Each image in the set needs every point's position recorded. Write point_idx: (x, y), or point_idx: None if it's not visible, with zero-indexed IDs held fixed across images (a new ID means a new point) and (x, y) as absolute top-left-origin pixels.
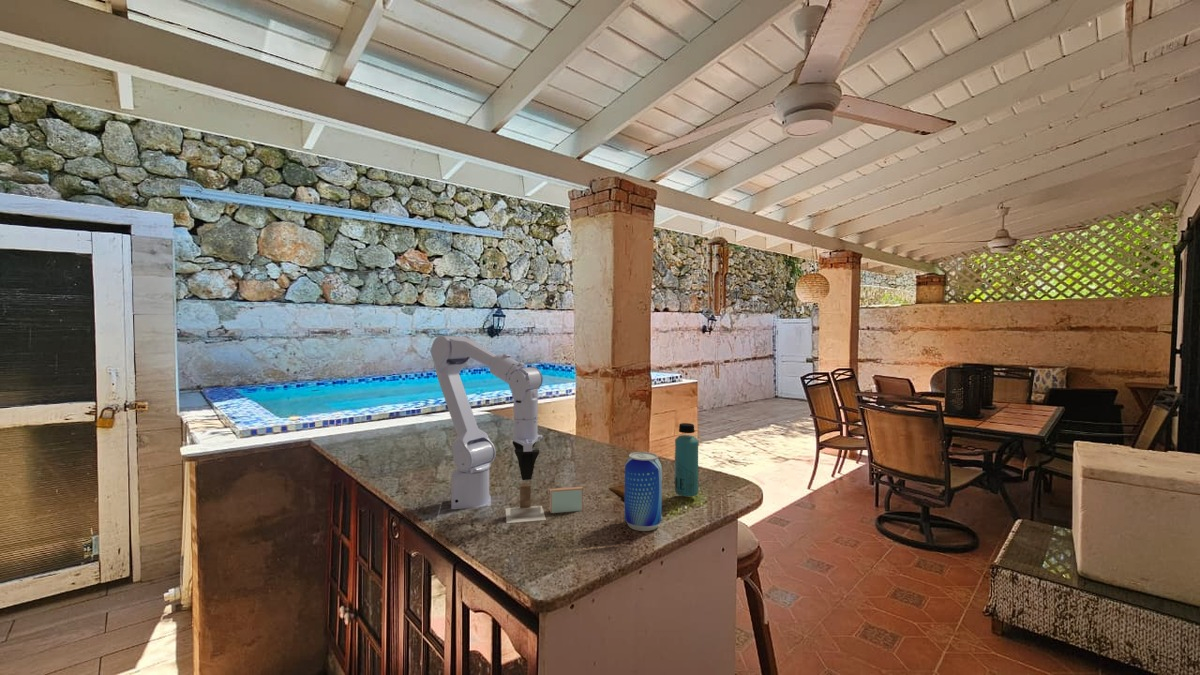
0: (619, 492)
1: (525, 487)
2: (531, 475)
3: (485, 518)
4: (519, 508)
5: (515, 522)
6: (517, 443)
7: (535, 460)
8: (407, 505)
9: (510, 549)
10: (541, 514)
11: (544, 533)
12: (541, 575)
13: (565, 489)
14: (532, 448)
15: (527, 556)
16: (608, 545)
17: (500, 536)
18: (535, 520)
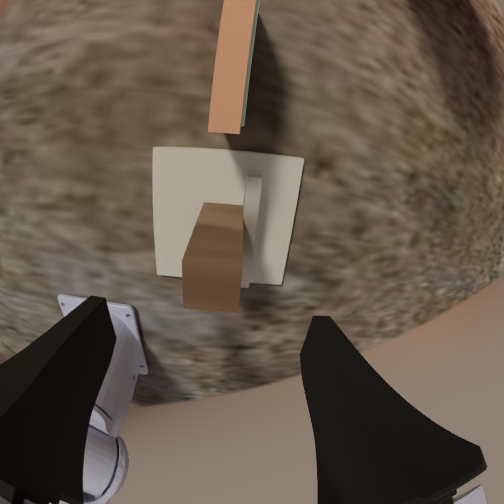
0: None
1: (240, 288)
2: (341, 334)
3: (209, 322)
4: (244, 259)
5: (285, 260)
6: (68, 498)
7: (424, 415)
8: None
9: (413, 283)
10: (246, 163)
11: (384, 188)
12: (500, 245)
13: (249, 44)
14: (15, 408)
15: (453, 255)
16: (486, 74)
17: (343, 299)
18: (296, 197)
